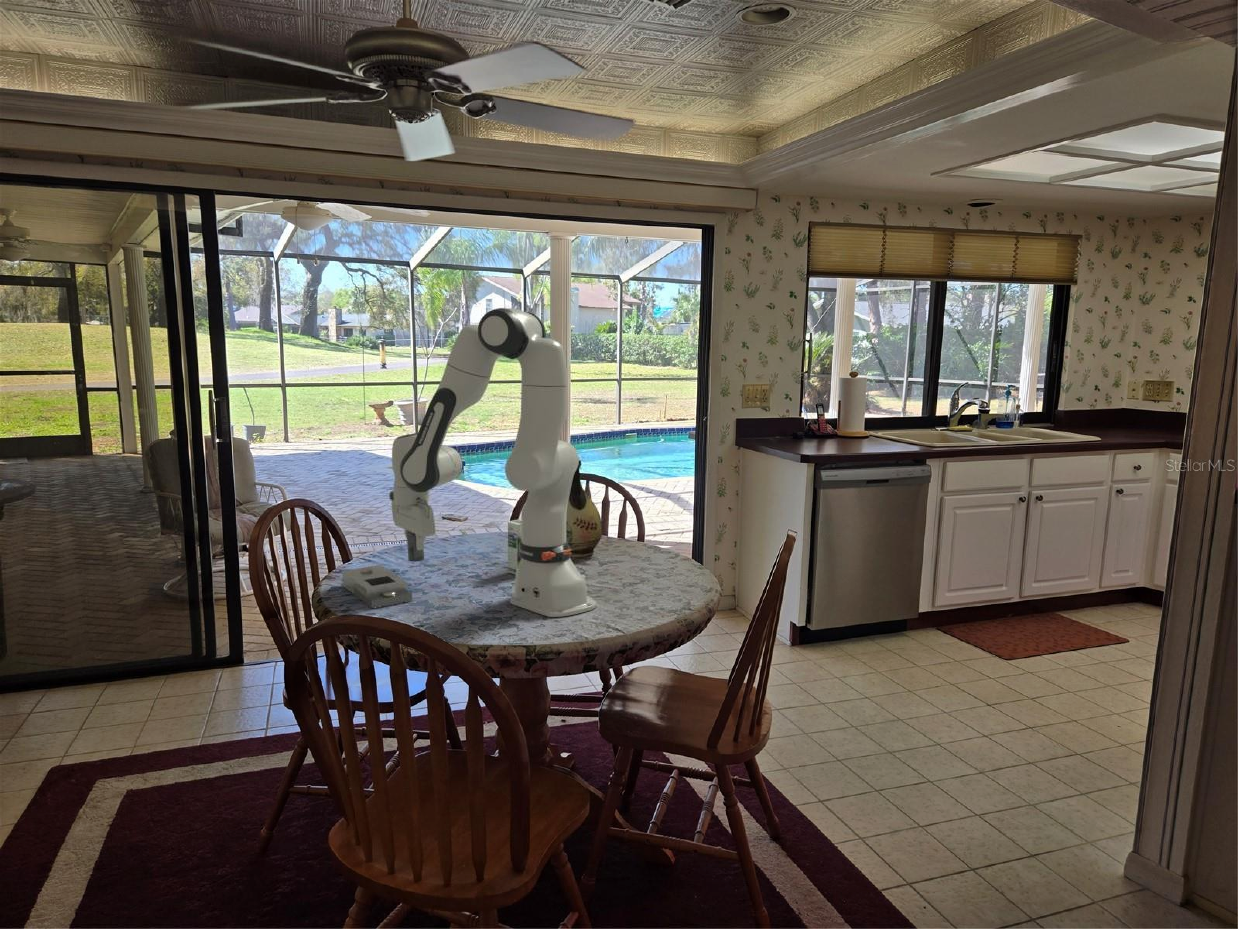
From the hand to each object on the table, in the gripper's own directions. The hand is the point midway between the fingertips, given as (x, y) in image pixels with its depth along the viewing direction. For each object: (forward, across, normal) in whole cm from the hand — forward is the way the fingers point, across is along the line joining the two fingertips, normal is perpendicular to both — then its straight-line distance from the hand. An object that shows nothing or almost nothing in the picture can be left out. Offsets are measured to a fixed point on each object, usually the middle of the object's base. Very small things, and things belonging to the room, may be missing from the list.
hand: (415, 547), depth 202 cm
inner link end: (+10, -6, +12) cm, 16 cm away
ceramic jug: (+11, 0, -50) cm, 51 cm away
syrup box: (+11, -7, -27) cm, 30 cm away
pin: (+3, 0, 0) cm, 3 cm away
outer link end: (+9, 0, +12) cm, 15 cm away
